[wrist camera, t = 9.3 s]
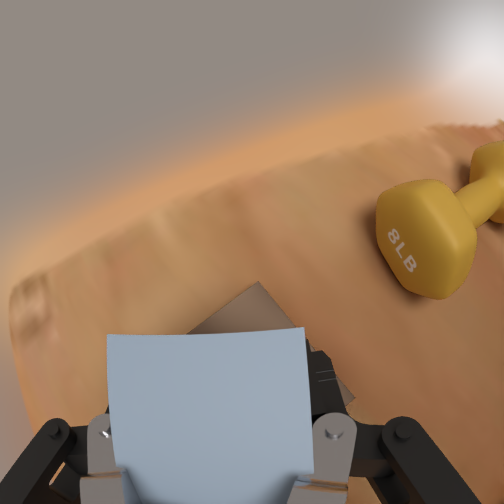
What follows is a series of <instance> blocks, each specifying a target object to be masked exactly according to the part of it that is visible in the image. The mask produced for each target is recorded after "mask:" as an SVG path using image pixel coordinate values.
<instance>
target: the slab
mask: <svg viewBox="0 0 504 504" xmlns="http://www.w3.org/2000/svg"><path fill="white" fill-rule="evenodd" d="M291 328H296V326H295V325H294V324H293V323H292V322H291V320H290V319H289V318H288V317H287V316H286V314H285V313H284V312H283V311H282V310H281V308H280V307H279V306H278V305H277V303H276V302H275V301H274V300H273V299H272V297H271V296H270V295H269V294H268V292H267V291H266V290H265V289H264V288H263V286H262V285H261V284H260V283H259V281H258V282H256V283H255V284H254V285H252V286H251V287H250V288H248V289H247V290H246V291H244V292H243V293H242V294H240V295H239V296H238V297H236V298H235V299H234V300H232V301H231V302H230V303H228V304H227V305H226V306H224V307H223V308H222V309H220V310H219V311H217V312H216V313H215V314H213V315H212V316H211V317H209V318H208V319H207V320H205V321H204V322H202V323H201V324H200V325H198V326H197V327H196V328H194V329H193V330H191V331H190V332H189V333H187V334H186V335H196V334H222V333H240V332H255V331H268V330H280V329H291ZM309 345H310V343H309ZM310 349H311V352H314V351H315V349H314V348H313V347H312V346H311V345H310ZM335 375H336V374H335ZM336 380H337V382H338V385H339V388H340V391H341V395H342V398H343V401H344V405H345V406H346V405H347V404H349V403H350V402H351V401H352V400H353V399H354V398H355V397H354V396H353V395H352V393H351V392H350V391H349V390H348V389H347V387H346V386H345V385H344V384H343V383H342V382H341V380H340V379H339V378H338V377H337V376H336Z"/></svg>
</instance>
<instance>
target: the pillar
mask: <svg viewBox="0 0 504 504" xmlns="http://www.w3.org/2000/svg"><path fill="white" fill-rule="evenodd" d="M107 379H108V399H109V412H110V423H111V433H112V441H113V449H114V456H115V462H116V467H120V468H126V469H127V471H128V473H129V475H130V478H131V480H132V482H133V485H134V487H135V489H136V491H137V493H138V495H139V497H140V499H141V501H142V503H143V504H287V502H288V499H289V496H290V493H291V491H292V488H293V485H294V483H295V481H296V480H297V477H298V475H307V474H314V460H313V438H312V420H311V404H310V390H309V377H308V365H307V353H306V343H305V332H304V327H301V328H291V329H280V330H268V331H255V332H240V333H222V334H196V335H114V334H107Z"/></svg>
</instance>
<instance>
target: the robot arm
mask: <svg viewBox="0 0 504 504" xmlns="http://www.w3.org/2000/svg"><path fill="white" fill-rule="evenodd" d="M305 343H306V353H307V365H308V377H309V390H310V404H311V420H312V438H313V460H314V474H307V475H298V477H297V480H296V481H295V483H294V485H293V488H292V491H291V493H290V496H289V499H288V502H287V504H345V502H346V498H347V493H348V487H347V483H348V478H349V476H353V477H366V478H367V480H368V481H369V483H370V485H371V486H372V488H373V490H374V492H375V493H376V495H377V496H378V498H379V500H380V501H381V503H382V504H481V502H480V501H479V500H478V498H477V497H476V496H475V494H474V493H473V492H472V490H471V489H470V488H469V487H468V485H467V484H466V483H465V481H464V480H463V479H462V477H461V476H460V475H459V474H458V472H457V471H456V470H455V468H454V467H453V466H452V465H451V463H450V462H449V461H448V459H447V458H446V457H445V456H444V454H443V453H442V452H441V450H440V449H439V448H438V447H437V445H436V444H435V443H434V442H433V440H432V439H431V438H430V437H429V435H428V434H427V433H426V432H425V430H424V429H423V428H422V427H421V425H420V424H419V423H418V422H417V421H416V420H414V419H412V418H410V417H403V416H401V417H396V418H393V419H391V420H390V421H388V422H387V423H386V424H385V425H367V424H362V423H359V422H357V421H355V420H354V419H352V418H351V417H350V416H349V414H348V413H347V411H346V408H345V405H344V401H343V398H342V395H341V391H340V388H339V385H338V382H337V380H336V375H335V372H334V369H333V365H332V362H331V359H330V358H329V357H328V356H327V355H326V354H325V353H324V352H323V351H314V352H311V349H310V345H309V341H308V339H305ZM63 462H64V463H65V466H64V467H63V469H62V470H61V471H60V473H59V474H58V476H57V477H56V479H55V480H54V482H53V483H52V484H51V485H49V482H50V480H51V479H52V477H53V476H54V474H55V473H56V471H57V470H58V468H59V467H60V466H61V464H62V463H63ZM0 504H143V503H142V501H141V499H140V497H139V495H138V493H137V491H136V489H135V487H134V485H133V482H132V480H131V478H130V475H129V473H128V471H127V469H126V468H120V467H116V462H115V456H114V449H113V441H112V433H111V423H110V412H109V405H108V407H107V410H106V412H105V414H101V415H98V416H96V417H95V418H94V419H92V420H91V422H90V423H89V425H87V426H77V427H70V426H69V425H68V423H67V422H66V421H65V420H63V419H60V418H54V419H51V420H49V421H47V422H46V423H45V424H44V425H43V426H42V428H41V429H40V430H39V432H38V433H37V434H36V435H35V437H34V438H33V439H32V441H31V442H30V443H29V445H28V446H27V447H26V449H25V450H24V451H23V452H22V454H21V455H20V457H19V458H18V459H17V461H16V462H15V463H14V465H13V466H12V467H11V469H10V470H9V472H8V473H7V474H6V476H5V477H4V479H3V480H2V481H1V483H0Z"/></svg>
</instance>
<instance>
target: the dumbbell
mask: <svg viewBox="0 0 504 504" xmlns="http://www.w3.org/2000/svg"><path fill="white" fill-rule="evenodd" d="M488 219H490V220H491V221H493V222H496V223H503V224H504V140H503V141H497V142H492V143H488V144H485V145H483V146H481V147H479V148H477V149H476V150H475V151H474V153H473V155H472V160H471V168H470V178H469V184H468V185H466V186H464V187H463V188H461V189H460V190H458V191H457V192H456V193H453V192H452V191H451V190H450V189H449V188H448V187H447V186H446V185H445V184H444V183H443V182H441V181H438V180H434V179H424V180H416V181H411V182H407V183H403V184H400V185H397V186H395V187H393V188H390V189H388V190H386V191H384V192H383V193H382V194H381V195H380V196H379V198H378V200H377V206H376V238H377V243H378V246H379V248H380V250H381V252H382V254H383V256H384V258H385V259H386V261H387V263H388V264H389V266H390V268H391V269H392V271H393V273H394V274H395V276H396V278H397V279H398V281H399V282H400V284H401V285H402V286H403V287H404V288H405V289H407V290H409V291H411V292H413V293H416V294H419V295H422V296H425V297H428V298H431V299H436V300H442V299H445V298H447V297H449V296H450V295H451V294H452V293H454V292H455V291H456V290H457V289H458V288H459V287H460V286H461V285H462V284H463V282H464V281H465V279H466V278H467V275H468V273H469V271H470V268H471V265H472V262H473V259H474V256H475V251H476V246H477V233H476V229H477V228H478V227H479V226H481V225H482V224H483V223H484V222H486V221H487V220H488Z"/></svg>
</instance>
